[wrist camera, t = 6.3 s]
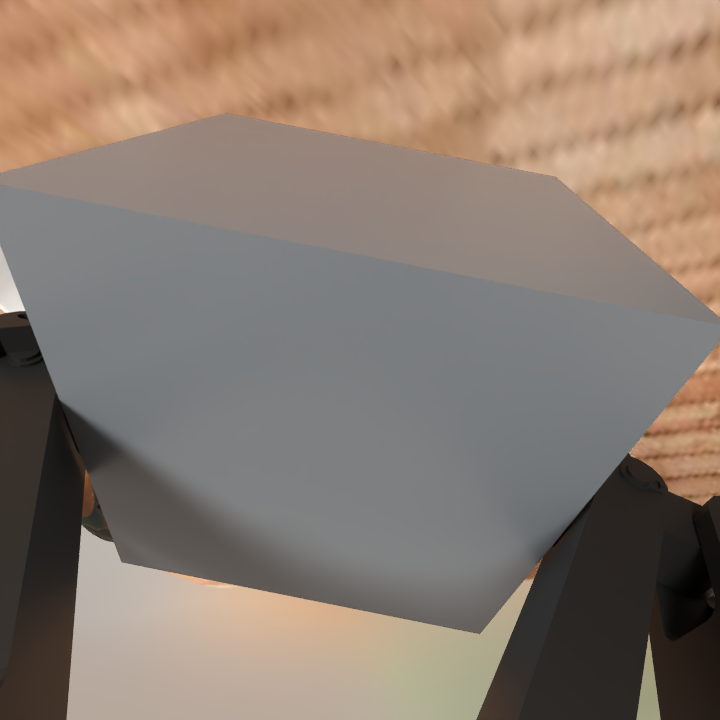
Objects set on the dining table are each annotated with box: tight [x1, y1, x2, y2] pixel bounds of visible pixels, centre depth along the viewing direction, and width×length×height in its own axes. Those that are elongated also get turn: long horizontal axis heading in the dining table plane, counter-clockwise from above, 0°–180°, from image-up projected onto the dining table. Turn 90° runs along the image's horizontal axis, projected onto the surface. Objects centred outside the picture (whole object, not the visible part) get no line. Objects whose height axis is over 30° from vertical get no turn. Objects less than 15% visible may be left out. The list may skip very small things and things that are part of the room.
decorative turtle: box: [82, 470, 114, 542], centre depth 43 cm, size 10×15×8 cm, turn 31°
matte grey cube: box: [0, 113, 720, 634], centre depth 12 cm, size 10×10×9 cm
